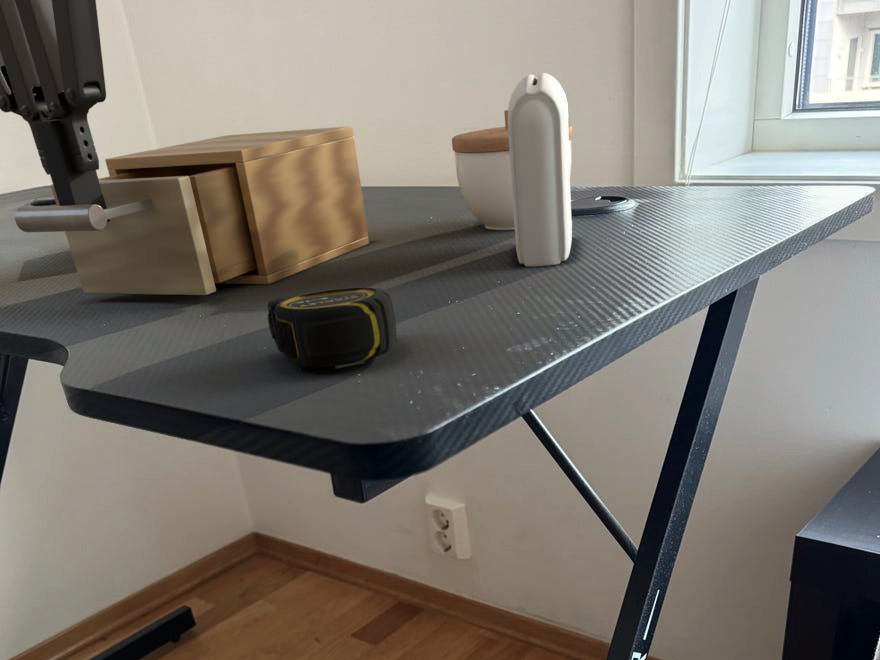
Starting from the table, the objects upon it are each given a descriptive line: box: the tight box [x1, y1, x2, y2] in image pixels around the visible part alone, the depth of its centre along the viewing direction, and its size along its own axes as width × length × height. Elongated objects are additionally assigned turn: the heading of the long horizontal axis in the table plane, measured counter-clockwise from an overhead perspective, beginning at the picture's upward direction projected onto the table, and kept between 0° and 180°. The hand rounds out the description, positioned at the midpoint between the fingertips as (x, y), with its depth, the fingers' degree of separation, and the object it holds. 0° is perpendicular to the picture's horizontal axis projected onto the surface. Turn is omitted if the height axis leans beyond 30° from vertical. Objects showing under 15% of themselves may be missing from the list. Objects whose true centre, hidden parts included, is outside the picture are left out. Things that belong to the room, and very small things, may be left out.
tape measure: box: [267, 286, 397, 370], centre depth 52 cm, size 7×7×4 cm
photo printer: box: [507, 72, 573, 268], centre depth 70 cm, size 10×4×12 cm, turn 174°
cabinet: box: [104, 125, 370, 285], centre depth 79 cm, size 16×14×10 cm
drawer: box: [14, 163, 257, 296], centre depth 71 cm, size 21×12×8 cm, turn 155°
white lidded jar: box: [451, 109, 573, 231], centre depth 84 cm, size 11×11×9 cm
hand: (88, 224), depth 65 cm, fingers closed
